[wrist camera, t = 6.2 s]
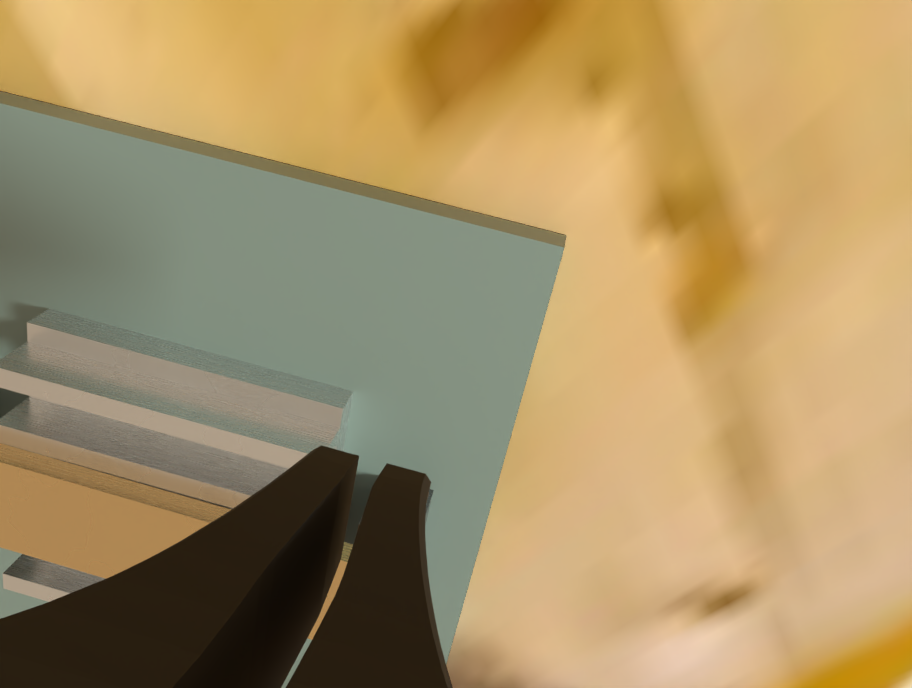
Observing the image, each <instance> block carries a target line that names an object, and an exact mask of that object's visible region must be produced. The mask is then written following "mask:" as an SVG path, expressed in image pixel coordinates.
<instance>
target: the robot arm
mask: <svg viewBox="0 0 912 688" xmlns="http://www.w3.org/2000/svg"><path fill="white" fill-rule="evenodd" d="M358 460H359V456H358V455H355V454H351V453H347V452H344V451H340V450H336V449H333V448H329V447H325V446H322V445H321V446H319V447H317V448H315V449H314V450H312V451H311V452H310V453H308V454H307V455H306V456H304V457H303V458H302V459H301V460H299V461H298V462H297V463H296V464H294V465H293V466H292V467H290V468H289V469H288V470H286V471H285V472H284V473H282V474H281V475H280V476H278V477H277V478H276V479H274V480H273V481H272V482H270V483H269V484H267V485H266V486H265V487H263V488H262V489H261V490H259V491H258V492H256V493H255V494H253V495H252V496H250V497H249V498H247V499H246V500H245V501H243V502H242V503H240V504H239V505H237V506H236V507H234V508H233V509H231V510H230V511H228V512H227V513H225V514H224V515H222V516H221V517H219V518H217V519H216V520H214V521H213V522H211V523H209V524H208V525H206V526H204V527H203V528H201V529H199V530H198V531H196V532H194V533H193V534H191V535H189V536H188V537H186V538H185V539H183V540H181V541H179V542H178V543H176V544H174V545H172V546H170V547H169V548H167V549H165V550H163V551H161V552H160V553H158V554H156V555H154V556H152V557H150V558H148V559H146V560H144V561H142V562H140V563H138V564H136V565H134V566H132V567H130V568H128V569H126V570H124V571H122V572H120V573H118V574H115V575H113V576H111V577H109V578H106V579H104V580H102V581H99V582H97V583H94V584H92V585H89V586H87V587H84V588H82V589H80V590H77V591H75V592H72V593H70V594H67V595H65V596H62V597H60V598H57V599H55V600H52V601H50V602H47V603H44V604H42V605H39V606H36V607H33V608H30V609H27V610H24V611H22V612H19V613H16V614H13V615H10V616H7V617H4V618H1V619H0V688H281V687H282V685H283V683H284V681H285V680H286V678H287V676H288V674H289V672H290V670H291V668H292V666H293V665H294V663H295V661H296V659H297V657H298V655H299V653H300V651H301V649H302V647H303V646H304V644H305V642H306V640H307V638H308V636H309V634H310V632H311V630H312V628H313V627H314V625H315V623H316V621H317V619H318V617H319V615H320V612H321V609H322V607H323V604H324V602H325V599H326V597H327V594H328V592H329V589H330V587H331V584H332V581H333V579H334V576H335V574H336V571H337V568H338V566H339V563H340V560H341V557H342V551H343V545H344V540H345V534H346V528H347V523H348V517H349V511H350V506H351V500H352V494H353V489H354V483H355V477H356V472H357V466H358ZM430 485H431V481H430V479H429V478H428V476H427V475H426V474H425V473H421V472H418V471H414V470H410V469H406V468H403V467H399V466H395V465H392V464H388V463H387V464H386V465H385V467H384V468H383V470H382V471H381V473H380V474H379V476H378V478H377V479H376V481H375V483H374V485H373V486H372V488H371V491H370V494H369V497H368V500H367V504H366V507H365V510H364V513H363V516H362V519H361V522H360V525H359V528H358V531H357V534H356V537H355V541H354V544H353V547H352V550H351V553H350V556H349V559H348V562H347V565H346V568H345V571H344V574H343V577H342V579H341V582H340V584H339V587H338V589H337V592H336V594H335V596H334V598H333V600H332V602H331V604H330V606H329V608H328V610H327V612H326V614H325V616H324V618H323V620H322V622H321V624H320V626H319V628H318V629H317V631H316V633H315V635H314V637H313V639H312V641H311V643H310V645H309V646H308V648H307V650H306V652H305V654H304V655H303V657H302V659H301V661H300V663H299V665H298V666H297V668H296V670H295V672H294V674H293V676H292V677H291V679H290V681H289V683H288V684H287V686H286V688H453V687H452V684H451V680H450V677H449V674H448V671H447V667H446V663H445V659H444V655H443V651H442V648H441V644H440V639H439V635H438V630H437V625H436V620H435V615H434V609H433V603H432V598H431V591H430V584H429V577H428V566H427V555H426V541H425V513H426V503H427V499H428V494H429V490H430Z"/></svg>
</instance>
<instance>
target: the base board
mask: <svg viewBox="0 0 912 688" xmlns="http://www.w3.org/2000/svg"><path fill="white" fill-rule="evenodd" d="M565 240H566V235H563V234H559V233H555V232H551V231H547V230H543V229H539V228H535V227H532V226H528V225H524V224H520V223H516V222H512V221H508V220H504V219H500V218H496V217H492V216H488V215H484V214H481V213H477V212H473V211H469V210H465V209H461V208H457V207H453V206H449V205H445V204H441V203H437V202H433V201H430V200H426V199H422V198H418V197H414V196H410V195H406V194H402V193H398V192H394V191H390V190H386V189H383V188H379V187H375V186H371V185H367V184H363V183H359V182H355V181H351V180H347V179H343V178H339V177H335V176H332V175H328V174H324V173H320V172H316V171H312V170H308V169H304V168H300V167H296V166H292V165H288V164H284V163H281V162H277V161H273V160H269V159H265V158H261V157H257V156H253V155H249V154H245V153H241V152H237V151H234V150H230V149H226V148H222V147H218V146H214V145H210V144H206V143H202V142H198V141H194V140H190V139H186V138H183V137H179V136H175V135H171V134H167V133H163V132H159V131H155V130H151V129H147V128H143V127H139V126H136V125H132V124H128V123H124V122H120V121H116V120H112V119H108V118H104V117H100V116H96V115H92V114H88V113H85V112H81V111H77V110H73V109H69V108H65V107H61V106H57V105H53V104H49V103H45V102H41V101H37V100H34V99H30V98H26V97H22V96H18V95H14V94H10V93H6V92H2V91H0V359H1V358H3V357H5V356H6V355H8V354H9V353H11V352H12V351H14V350H15V349H17V348H18V347H20V346H22V345H23V344H25V343H26V342H28V341H27V322H28V321H30V320H32V319H33V318H35V317H36V316H38V315H40V314H41V313H43V312H45V311H46V310H48V309H53V310H57V311H60V312H64V313H68V314H71V315H75V316H79V317H82V318H86V319H90V320H93V321H97V322H101V323H104V324H108V325H112V326H115V327H119V328H123V329H127V330H130V331H134V332H138V333H141V334H145V335H149V336H152V337H156V338H160V339H163V340H167V341H171V342H174V343H178V344H182V345H185V346H189V347H193V348H196V349H200V350H204V351H207V352H211V353H215V354H218V355H222V356H226V357H229V358H233V359H237V360H241V361H244V362H248V363H252V364H255V365H259V366H263V367H266V368H270V369H274V370H277V371H281V372H285V373H288V374H292V375H296V376H299V377H303V378H307V379H310V380H314V381H318V382H321V383H325V384H329V385H332V386H336V387H340V388H343V389H347V390H351V391H354V392H353V397H352V403H351V409H350V415H349V420H348V426H347V432H346V438H345V443H344V449H343V451H344V452H347V453H351V454H355V455H358V456H359V460H358V466H357V472H356V477H355V483H354V489H353V494H352V500H351V506H350V511H349V517H348V523H347V528H346V534H345V540H344V542H346V543H349V544H354V541H355V537H356V534H357V530H358V525H359V522H360V520H361V518H362V515H363V513H364V510H365V507H366V504H367V500H368V497H369V494H370V491H371V488H372V486H373V485H374V483H375V481H376V479H377V478H378V476H379V474H380V473H381V471H382V470H383V468H384V467H385V465H386V464H387V463H388V464H392V465H395V466H399V467H403V468H406V469H410V470H414V471H418V472H421V473H425V474H426V475H427V476H428V478H429V479H430V481H431V485H430V489H431V490H434V492H433V496H432V500H431V504H430V508H429V512H428V517H427V521H426V525H425V541H426V555H427V566H428V577H429V584H430V591H431V598H432V603H433V609H434V615H435V620H436V625H437V630H438V635H439V639H440V644H441V648H442V651H443V655H444V659H445V663H447V660H448V656H449V653H450V649H451V645H452V642H453V638H454V635H455V631H456V628H457V624H458V621H459V617H460V614H461V610H462V607H463V603H464V600H465V596H466V593H467V589H468V586H469V582H470V578H471V575H472V571H473V568H474V564H475V561H476V557H477V554H478V550H479V547H480V543H481V540H482V536H483V533H484V529H485V526H486V522H487V518H488V515H489V511H490V508H491V504H492V501H493V497H494V494H495V490H496V487H497V483H498V480H499V476H500V473H501V469H502V466H503V462H504V459H505V455H506V451H507V448H508V444H509V441H510V437H511V434H512V430H513V427H514V423H515V420H516V416H517V413H518V409H519V406H520V402H521V399H522V395H523V391H524V388H525V384H526V381H527V377H528V374H529V370H530V367H531V363H532V360H533V356H534V353H535V349H536V346H537V342H538V339H539V335H540V332H541V328H542V324H543V321H544V317H545V314H546V310H547V307H548V303H549V300H550V296H551V293H552V289H553V286H554V282H555V279H556V275H557V272H558V268H559V264H560V261H561V257H562V254H563V250H564V246H565ZM28 397H29V396H28V395H25V394H21V393H18V392H14V391H11V390H7V389H3V388H0V418H2V417H3V416H4V415H6V414H7V413H8V412H10V411H11V410H12V409H14V408H15V407H16V406H18V405H19V404H20V403H22V402H23V401H24V400H26V399H27V398H28ZM8 446H9V445H8ZM15 448H16V447H15ZM19 449H20V448H19ZM22 450H23V449H22ZM26 451H27V450H26ZM21 555H22V554H21V553H18V552H14V551H11V550H8V549H4V548H1V547H0V619H1V618H4V617H7V616H10V615H13V614H16V613H19V612H22V611H24V610H27V609H30V608H33V607H36V606H39V605H42V604H44V603H47V602H48V601H44V600H41V599H38V598H34V597H31V596H27V595H24V594H21V593H17V592H14V591H10V590H7V589H4V588H3V573H4V572H5V571H6V570H7V569H8V568H9V567H10V566H11V565H12V564H13V563H14V562H15V561H16V560H17V559H18V558H19V557H20V556H21ZM311 641H312V640H311V639H308V638H307V640H306V642H305V644H304V646H303V648H302V649H301V651H300V653H299V655H298V657H297V659H296V661H295V663H294V665H293V666H292V668H291V670H290V672H289V674H288V676H287V678H286V680H285V681H284V683H283V685H282V687H281V688H286V686H287V684H288V683H289V681H290V679H291V677H292V676H293V674H294V672H295V670H296V668H297V666H298V665H299V663H300V661H301V659H302V657H303V655H304V654H305V652H306V650H307V648H308V646H309V645H310V643H311Z"/></svg>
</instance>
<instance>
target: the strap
mask: <svg viewBox="0 0 912 688" xmlns="http://www.w3.org/2000/svg"><path fill="white" fill-rule="evenodd" d="M230 510H231V509H228V508H224V507H221V506H217V505H214V504H210V503H207V502H203V501H200V500H196V499H193V498H189V497H186V496H182V495H179V494H175V493H172V492H169V491H165V490H162V489H158V488H155V487H151V486H148V485H144V484H141V483H137V482H134V481H130V480H127V479H123V478H120V477H116V476H113V475H109V474H106V473H102V472H99V471H95V470H92V469H89V468H85V467H82V466H78V465H75V464H71V463H68V462H64V461H61V460H57V459H54V458H50V457H47V456H43V455H40V454H36V453H33V452H29V451H26V450H22V449H19V448H15V447H12V446H8V445H5V444H2V443H0V547H1V548H4V549H8V550H11V551H14V552H18V553H21V554H24V555H28V556H31V557H35V558H38V559H41V560H45V561H48V562H51V563H55V564H58V565H61V566H65V567H68V568H72V569H75V570H78V571H82V572H85V573H88V574H92V575H95V576H99V577H102V578H105V579H106V578H109V577H111V576H113V575H115V574H118V573H120V572H122V571H124V570H126V569H128V568H130V567H132V566H134V565H136V564H138V563H140V562H142V561H144V560H146V559H148V558H150V557H152V556H154V555H156V554H158V553H160V552H161V551H163V550H165V549H167V548H169V547H170V546H172V545H174V544H176V543H178V542H179V541H181V540H183V539H185V538H186V537H188V536H189V535H191V534H193V533H194V532H196V531H198V530H199V529H201V528H203V527H204V526H206V525H208V524H209V523H211V522H213V521H214V520H216V519H217V518H219V517H221V516H222V515H224V514H225V513H227V512H228V511H230ZM352 547H353V544H349V543H346V542H344V545H343V551H342V557H341V560H340V563H339V566H338V568H337V571H336V574H335V576H334V579H333V581H332V584H331V587H330V589H329V592H328V594H327V597H326V599H325V602H324V604H323V607H322V609H321V612H320V615H319V617H318V619H317V621H316V623H315V625H314V627H313V628H312V630H311V632H310V634H309V636H308V639H311V640H312V639H313V637H314V635H315V633H316V631H317V629H318V628H319V626H320V624H321V622H322V620H323V618H324V616H325V614H326V612H327V610H328V608H329V606H330V604H331V602H332V600H333V598H334V596H335V594H336V592H337V589H338V587H339V584H340V582H341V579H342V577H343V574H344V571H345V568H346V565H347V562H348V559H349V556H350V553H351V550H352Z"/></svg>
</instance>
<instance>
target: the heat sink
mask: <svg viewBox="0 0 912 688" xmlns="http://www.w3.org/2000/svg"><path fill="white" fill-rule="evenodd" d="M27 341H28V342H26V343H25V344H23V345H22V346H20V347H18V348H17V349H15V350H14V351H12V352H11V353H9V354H8V355H6V356H5V357H3V358H1V359H0V388H3V389H7V390H11V391H14V392H18V393H21V394H25V395H28V396H29V397H28V398H27V399H26V400H24V401H23V402H22V403H20V404H19V405H18V406H16V407H15V408H14V409H12V410H11V411H10V412H8V413H7V414H6V415H4V416H3V417H2V418H0V443H2V444H5V445H9V446H12V447H16V448H20V449H23V450H27V451H29V452H33V453H36V454H40V455H43V456H47V457H50V458H54V459H57V460H61V461H64V462H68V463H71V464H75V465H78V466H82V467H85V468H89V469H92V470H95V471H99V472H102V473H106V474H109V475H113V476H116V477H120V478H123V479H127V480H130V481H134V482H137V483H141V484H144V485H148V486H151V487H155V488H158V489H162V490H165V491H169V492H172V493H175V494H179V495H182V496H186V497H189V498H193V499H196V500H200V501H203V502H207V503H210V504H214V505H217V506H221V507H224V508H228V509H233V508H234V507H236V506H237V505H239V504H240V503H242V502H243V501H245V500H246V499H247V498H249V497H250V496H252V495H253V494H255V493H256V492H258V491H259V490H261V489H262V488H263V487H265V486H266V485H267V484H269V483H270V482H272V481H273V480H274V479H276V478H277V477H278V476H280V475H281V474H282V473H284V472H285V471H286V470H288V469H289V468H290V467H292V466H293V465H294V464H296V463H297V462H298V461H299V460H301V459H302V458H303V457H304V456H306V455H307V454H308V453H310V452H311V451H312V450H314V449H315V448H317V447H319V446H321V445H322V446H325V447H329V448H333V449H336V450H340V451H343V449H344V443H345V438H346V432H347V426H348V420H349V415H350V409H351V403H352V397H353V392H354V391H351V390H347V389H343V388H340V387H336V386H332V385H329V384H325V383H321V382H318V381H314V380H310V379H307V378H303V377H299V376H296V375H292V374H288V373H285V372H281V371H277V370H274V369H270V368H266V367H263V366H259V365H255V364H252V363H248V362H244V361H241V360H237V359H233V358H229V357H226V356H222V355H218V354H215V353H211V352H207V351H204V350H200V349H196V348H193V347H189V346H185V345H182V344H178V343H174V342H171V341H167V340H163V339H160V338H156V337H152V336H149V335H145V334H141V333H138V332H134V331H130V330H127V329H123V328H119V327H115V326H112V325H108V324H104V323H101V322H97V321H93V320H90V319H86V318H82V317H79V316H75V315H71V314H68V313H64V312H60V311H57V310H53V309H48V310H46V311H45V312H43V313H41V314H40V315H38V316H36V317H35V318H33V319H32V320H30V321H28V322H27ZM433 492H434V490H431V489H430V490H429V494H428V499H427V503H426V513H425V525H426V521H427V517H428V512H429V508H430V504H431V500H432V496H433ZM362 516H363V515H362ZM361 519H362V518H361ZM360 522H361V520H360ZM360 522H359V525H360ZM359 525H358V528H359ZM357 531H358V530H357ZM104 579H105V578H102V577H99V576H95V575H92V574H88V573H85V572H82V571H78V570H75V569H72V568H68V567H65V566H61V565H58V564H55V563H51V562H48V561H45V560H41V559H38V558H35V557H31V556H28V555H24V554H22V555H21V556H20V557H19V558H18V559H17V560H16V561H15V562H14V563H13V564H12V565H11V566H10V567H9V568H8V569H7V570H6V571H5V572H4V573H3V588H4V589H7V590H10V591H14V592H17V593H21V594H24V595H27V596H31V597H34V598H38V599H41V600H44V601H48V602H50V601H52V600H55V599H57V598H60V597H62V596H65V595H67V594H70V593H72V592H75V591H77V590H80V589H82V588H84V587H87V586H89V585H92V584H94V583H97V582H99V581H102V580H104ZM302 648H303V647H302Z"/></svg>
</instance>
